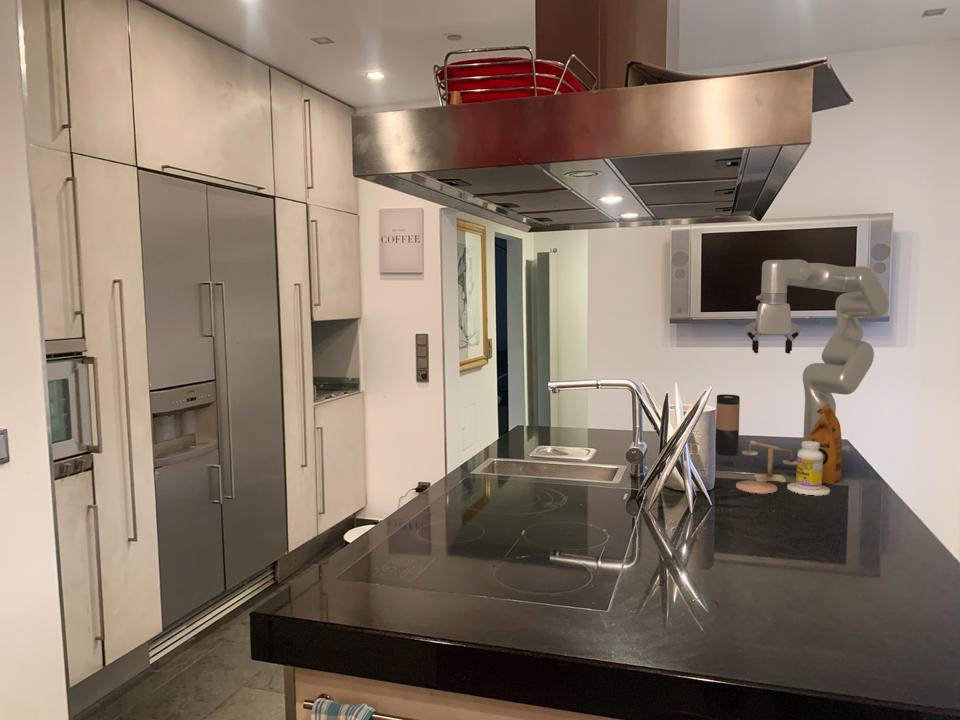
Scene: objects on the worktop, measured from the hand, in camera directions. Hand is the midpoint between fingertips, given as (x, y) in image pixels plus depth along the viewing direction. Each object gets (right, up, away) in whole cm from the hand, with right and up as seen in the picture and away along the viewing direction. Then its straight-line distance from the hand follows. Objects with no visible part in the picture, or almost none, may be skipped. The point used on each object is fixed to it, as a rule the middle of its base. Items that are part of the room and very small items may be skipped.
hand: (771, 353), depth 226 cm
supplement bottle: (0, -39, -25) cm, 46 cm away
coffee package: (+10, -38, -13) cm, 41 cm away
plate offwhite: (0, -39, -25) cm, 47 cm away
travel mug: (-8, -35, +20) cm, 41 cm away
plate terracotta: (-14, -39, -23) cm, 48 cm away
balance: (-7, -38, -14) cm, 41 cm away
